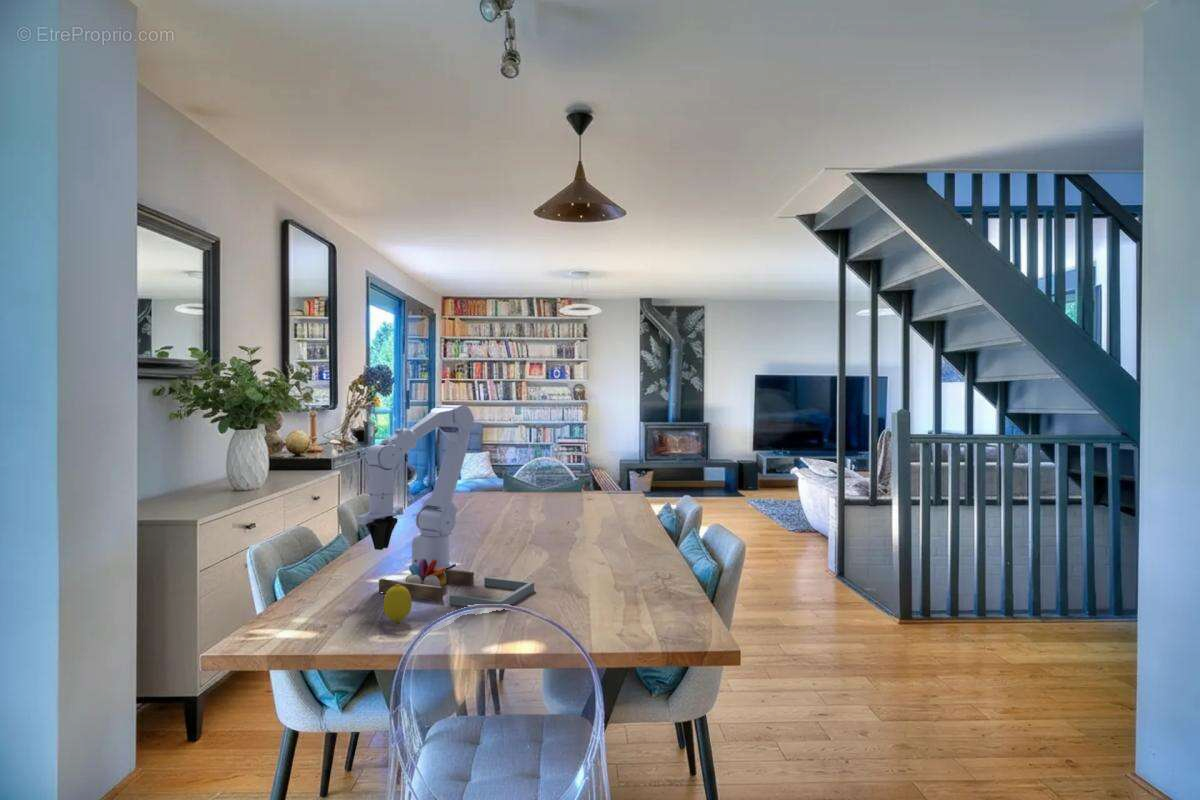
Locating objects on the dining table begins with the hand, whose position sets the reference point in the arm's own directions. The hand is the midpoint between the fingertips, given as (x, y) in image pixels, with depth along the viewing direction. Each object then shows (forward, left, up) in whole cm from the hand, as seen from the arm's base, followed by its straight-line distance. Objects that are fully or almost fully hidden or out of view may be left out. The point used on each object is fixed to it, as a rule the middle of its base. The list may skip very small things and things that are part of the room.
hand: (381, 548), depth 163 cm
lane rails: (+14, 0, -8) cm, 16 cm away
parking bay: (+31, 0, -8) cm, 32 cm away
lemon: (+22, -22, -9) cm, 32 cm away
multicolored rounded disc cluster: (+13, 0, -9) cm, 16 cm away
